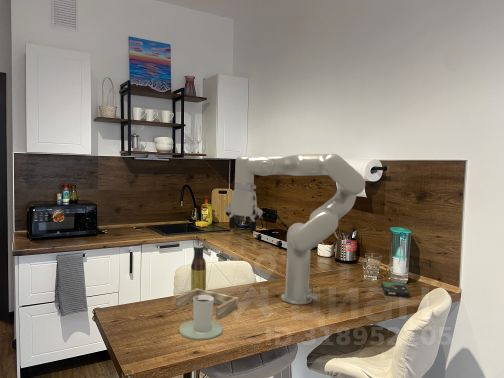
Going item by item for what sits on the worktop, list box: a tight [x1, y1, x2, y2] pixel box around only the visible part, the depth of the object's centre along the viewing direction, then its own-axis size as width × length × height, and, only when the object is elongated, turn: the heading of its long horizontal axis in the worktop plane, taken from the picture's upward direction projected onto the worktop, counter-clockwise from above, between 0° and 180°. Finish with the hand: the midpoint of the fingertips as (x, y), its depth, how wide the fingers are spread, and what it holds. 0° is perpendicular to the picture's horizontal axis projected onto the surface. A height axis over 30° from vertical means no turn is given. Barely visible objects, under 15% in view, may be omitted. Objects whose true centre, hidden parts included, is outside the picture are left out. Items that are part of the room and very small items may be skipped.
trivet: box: [179, 319, 224, 341], centre depth 132 cm, size 14×14×1 cm
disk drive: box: [381, 281, 411, 299], centre depth 181 cm, size 10×3×15 cm
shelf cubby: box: [174, 288, 239, 320], centre depth 152 cm, size 19×13×4 cm
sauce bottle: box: [190, 245, 207, 291], centre depth 168 cm, size 6×6×20 cm
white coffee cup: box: [192, 295, 214, 332], centre depth 131 cm, size 7×7×10 cm
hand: (242, 229), depth 162 cm, fingers open, 9 cm apart
